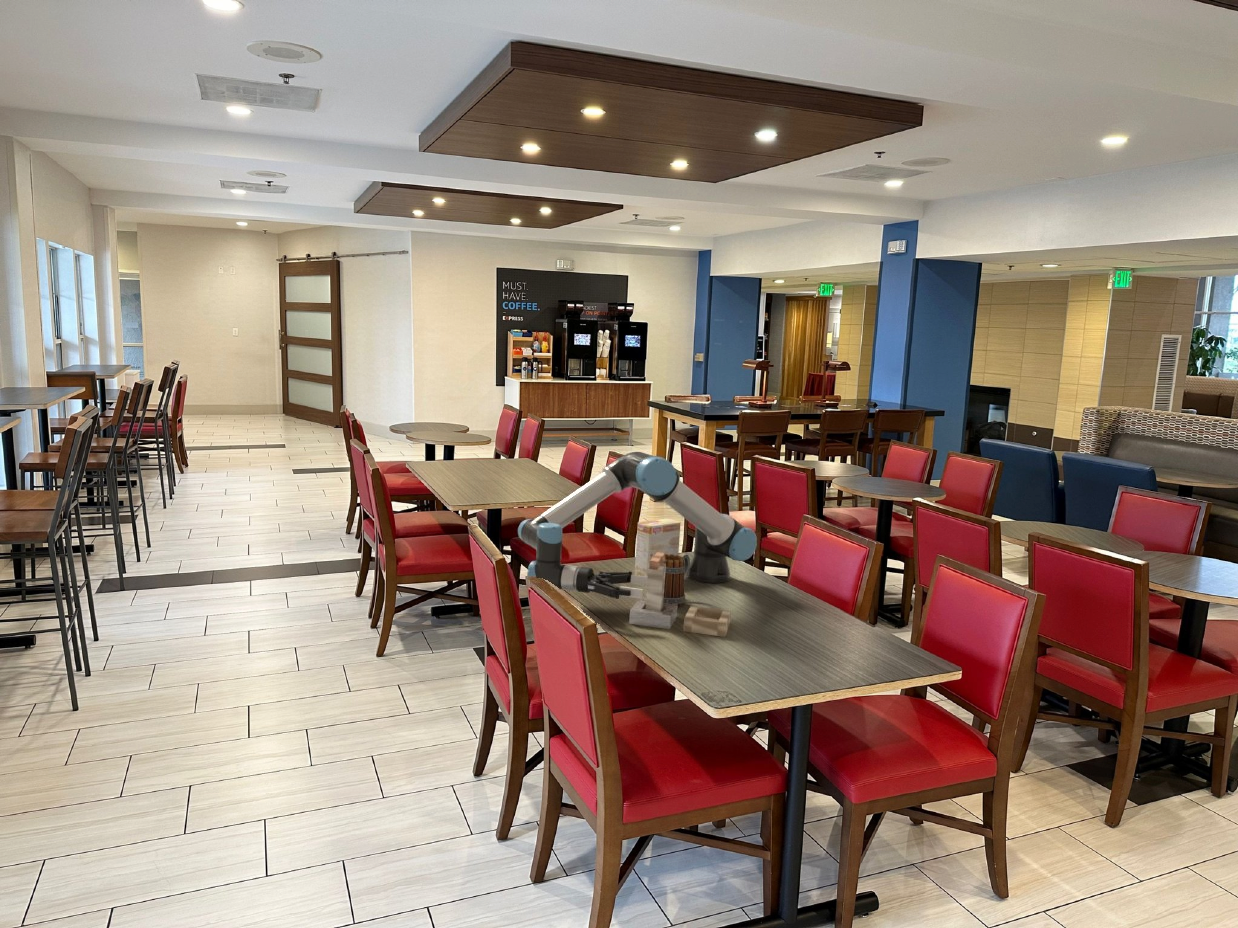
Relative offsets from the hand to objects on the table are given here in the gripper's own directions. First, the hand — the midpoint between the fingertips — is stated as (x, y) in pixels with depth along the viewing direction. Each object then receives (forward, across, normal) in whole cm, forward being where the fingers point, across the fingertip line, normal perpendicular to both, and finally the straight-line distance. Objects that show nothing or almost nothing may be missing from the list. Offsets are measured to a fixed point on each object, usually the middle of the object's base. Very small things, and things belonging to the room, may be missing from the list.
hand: (647, 587), depth 245 cm
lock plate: (+2, 0, -10) cm, 10 cm away
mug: (+4, -22, -10) cm, 24 cm away
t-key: (+2, 0, -10) cm, 10 cm away
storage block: (+18, -1, -10) cm, 21 cm away
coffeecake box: (-7, -50, -10) cm, 51 cm away
